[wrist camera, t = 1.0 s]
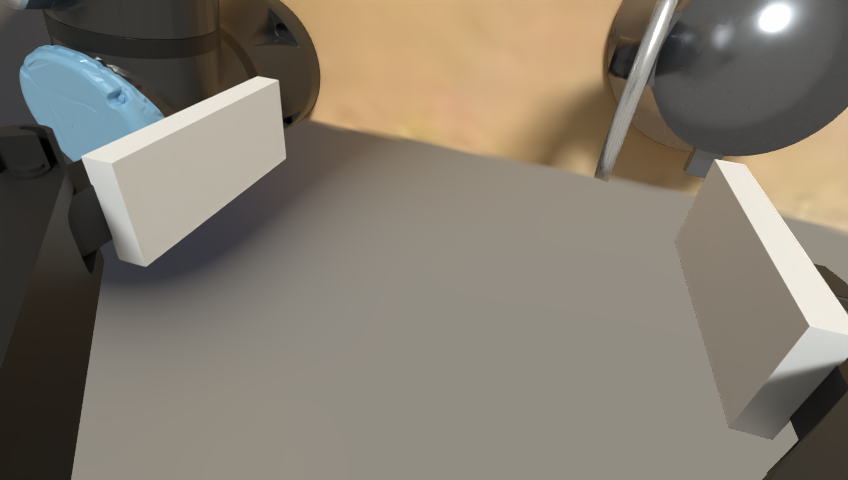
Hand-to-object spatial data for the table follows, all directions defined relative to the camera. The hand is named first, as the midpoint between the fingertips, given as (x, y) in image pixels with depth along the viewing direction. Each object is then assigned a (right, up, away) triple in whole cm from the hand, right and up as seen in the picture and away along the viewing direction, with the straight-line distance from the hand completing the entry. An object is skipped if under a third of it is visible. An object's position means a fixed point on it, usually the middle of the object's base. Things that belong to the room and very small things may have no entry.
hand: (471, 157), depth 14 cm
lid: (+12, +8, +13) cm, 20 cm away
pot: (+24, +14, +25) cm, 37 cm away
